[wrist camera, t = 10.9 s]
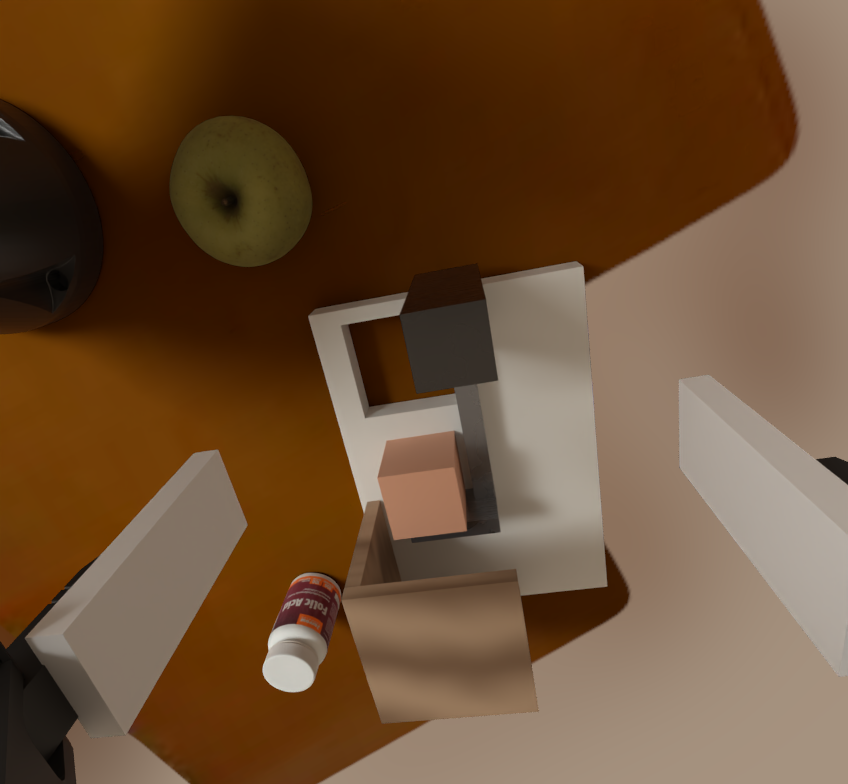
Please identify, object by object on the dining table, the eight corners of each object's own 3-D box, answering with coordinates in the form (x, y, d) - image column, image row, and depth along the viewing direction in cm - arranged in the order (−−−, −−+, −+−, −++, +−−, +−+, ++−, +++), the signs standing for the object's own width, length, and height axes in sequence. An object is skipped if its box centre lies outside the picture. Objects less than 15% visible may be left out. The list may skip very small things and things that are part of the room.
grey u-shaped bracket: (361, 285, 33) (326, 327, 24) (477, 263, 32) (486, 299, 23) (415, 509, 40) (404, 609, 31) (513, 496, 39) (531, 596, 30)
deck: (315, 308, 36) (307, 316, 34) (576, 261, 34) (583, 266, 32) (393, 591, 46) (391, 609, 44) (601, 569, 44) (607, 586, 42)
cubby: (367, 501, 40) (341, 600, 31) (503, 483, 39) (518, 581, 29) (397, 608, 44) (381, 723, 35) (520, 595, 43) (538, 711, 34)
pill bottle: (340, 571, 45) (317, 653, 38) (343, 612, 47) (322, 698, 40) (287, 569, 46) (253, 649, 38) (292, 610, 48) (261, 694, 40)
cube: (386, 440, 38) (377, 477, 33) (454, 430, 37) (454, 467, 33) (401, 497, 40) (393, 540, 35) (465, 488, 39) (466, 531, 34)
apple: (231, 263, 35) (180, 284, 29) (192, 134, 32) (125, 125, 26) (338, 245, 34) (310, 262, 28) (308, 111, 31) (269, 95, 25)
